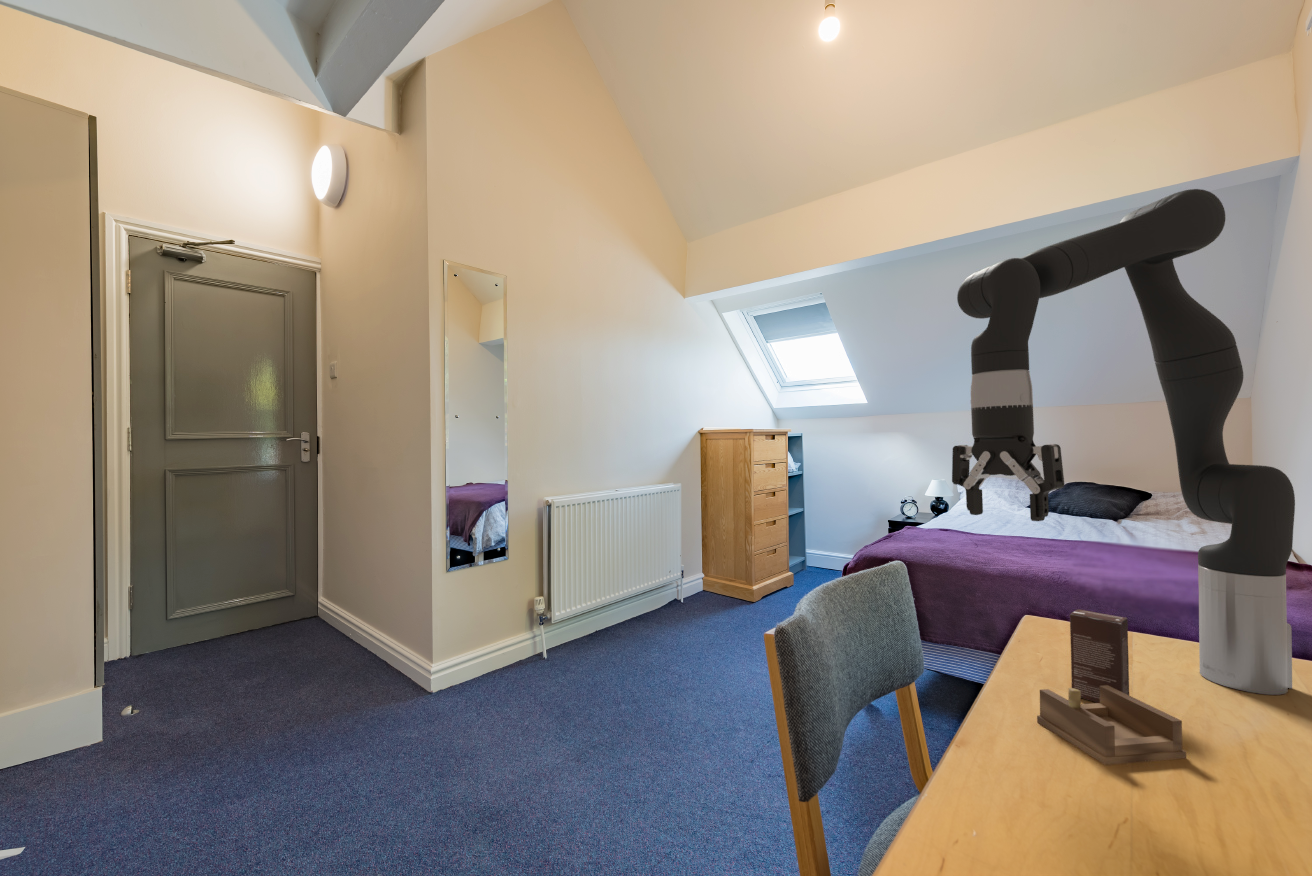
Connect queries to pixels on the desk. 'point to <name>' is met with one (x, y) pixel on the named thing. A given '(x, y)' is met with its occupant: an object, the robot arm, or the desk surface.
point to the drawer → (1112, 726)
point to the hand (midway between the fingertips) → (1005, 517)
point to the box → (1098, 653)
